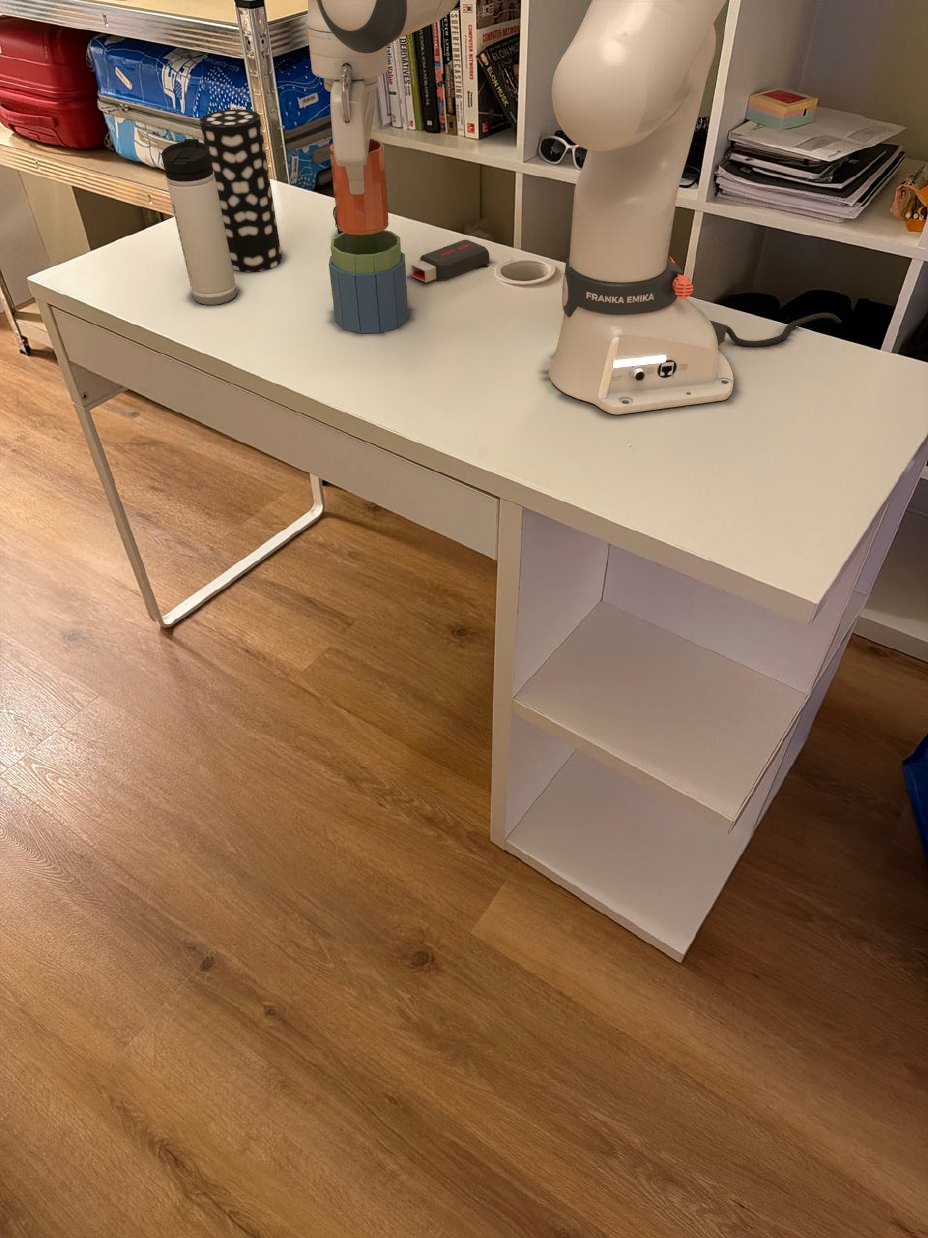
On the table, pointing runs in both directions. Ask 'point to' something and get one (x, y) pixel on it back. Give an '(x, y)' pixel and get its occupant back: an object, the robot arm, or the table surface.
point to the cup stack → (368, 282)
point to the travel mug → (199, 221)
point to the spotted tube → (243, 187)
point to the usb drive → (450, 261)
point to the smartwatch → (336, 220)
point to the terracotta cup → (364, 209)
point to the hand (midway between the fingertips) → (359, 181)
